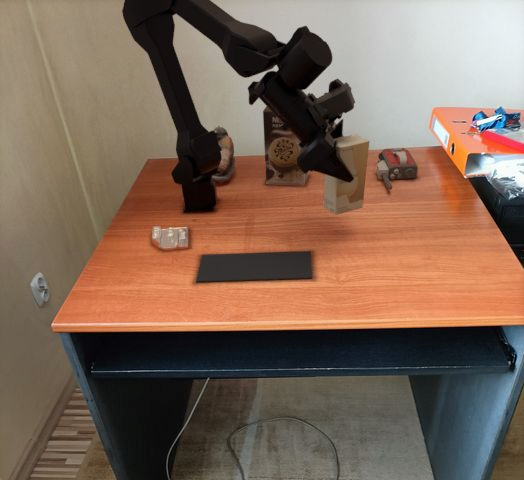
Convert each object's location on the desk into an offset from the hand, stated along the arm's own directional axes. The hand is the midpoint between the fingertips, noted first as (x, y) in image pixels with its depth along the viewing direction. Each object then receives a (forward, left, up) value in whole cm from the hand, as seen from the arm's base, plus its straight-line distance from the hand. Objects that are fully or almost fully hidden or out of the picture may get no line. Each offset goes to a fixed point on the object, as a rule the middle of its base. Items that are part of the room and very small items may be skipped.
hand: (353, 172), depth 91 cm
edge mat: (-18, -10, -12) cm, 24 cm away
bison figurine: (-28, +32, -12) cm, 44 cm away
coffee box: (-12, +28, -12) cm, 33 cm away
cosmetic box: (-1, 0, -7) cm, 7 cm away
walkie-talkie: (+13, +28, -12) cm, 33 cm away
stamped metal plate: (-35, +1, -12) cm, 37 cm away
